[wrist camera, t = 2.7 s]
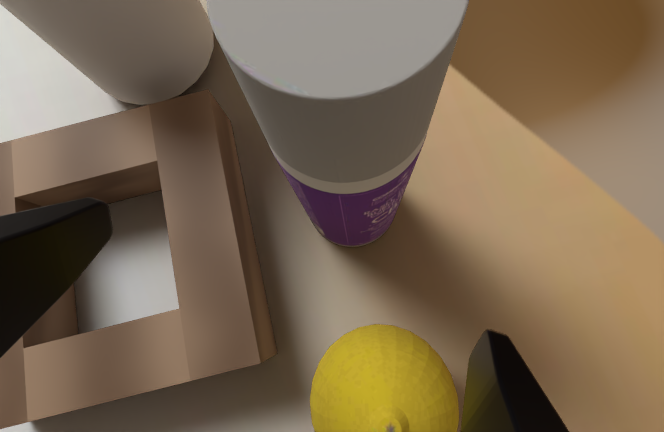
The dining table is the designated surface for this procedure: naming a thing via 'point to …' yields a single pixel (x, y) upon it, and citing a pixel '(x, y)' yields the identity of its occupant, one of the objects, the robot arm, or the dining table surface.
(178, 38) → the can
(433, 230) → the dining table surface
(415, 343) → the lemon
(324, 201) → the container
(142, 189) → the frame
